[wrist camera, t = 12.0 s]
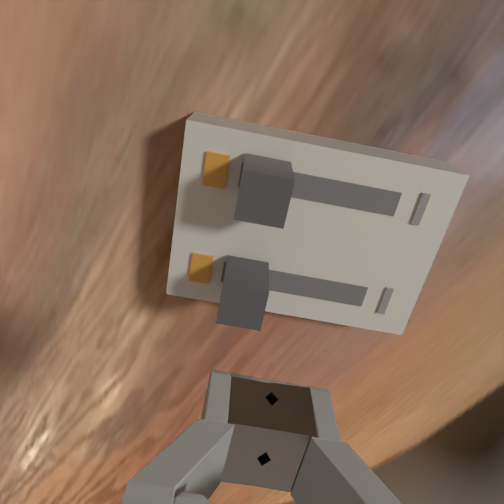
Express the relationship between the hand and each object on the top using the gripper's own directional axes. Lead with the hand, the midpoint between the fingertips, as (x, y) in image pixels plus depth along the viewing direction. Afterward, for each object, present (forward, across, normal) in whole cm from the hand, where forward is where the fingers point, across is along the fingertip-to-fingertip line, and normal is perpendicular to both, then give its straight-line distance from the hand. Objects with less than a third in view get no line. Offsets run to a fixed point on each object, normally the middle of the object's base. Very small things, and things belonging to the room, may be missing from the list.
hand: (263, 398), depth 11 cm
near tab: (+21, 0, 0) cm, 21 cm away
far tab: (+22, +1, -8) cm, 23 cm away
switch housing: (+26, +4, -4) cm, 26 cm away
